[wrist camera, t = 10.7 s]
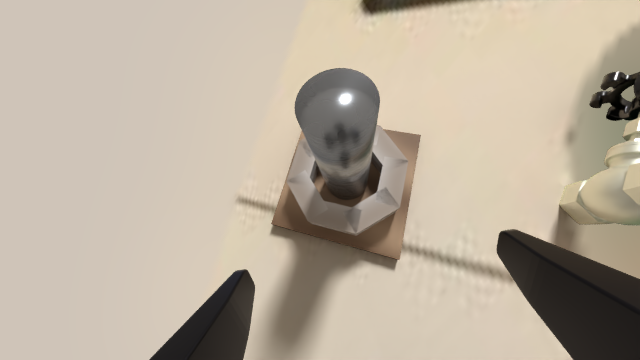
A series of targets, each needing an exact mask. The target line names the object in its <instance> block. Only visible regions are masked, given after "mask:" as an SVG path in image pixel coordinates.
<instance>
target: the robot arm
mask: <svg viewBox="0 0 640 360" xmlns="http://www.w3.org/2000/svg"><path fill="white" fill-rule="evenodd" d="M497 254H498V256H499V258H500V259H501V261H502V262H503V264H504V265H505V267H506V268H507V270H508V272H509V273H510V275H511V276H512V278H513V279H514V281H515V282H516V284H517V286H518V287H519V289H520V290H521V292H522V293H523V295H524V296H525V298H526V299H527V301H528V302H529V303H530V305H531V306H532V307H533V308H534V310H535V311H536V312H537V314H538V315H539V316H540V317H541V319H542V320H543V321H544V323H545V324H546V325H547V326H548V328H549V329H550V330H551V331H552V333H553V334H554V335H555V337H556V338H557V339H558V340H559V342H560V343H561V344H562V346H563V347H564V348H565V349H566V351H567V352H568V353H569V354H570V356H571V357H572V358H573V360H640V279H638V278H636V277H633V276H631V275H628V274H626V273H623V272H621V271H618V270H616V269H613V268H610V267H608V266H605V265H603V264H600V263H598V262H596V261H593V260H591V259H588V258H586V257H583V256H581V255H578V254H576V253H573V252H571V251H568V250H566V249H563V248H561V247H558V246H556V245H553V244H551V243H548V242H546V241H543V240H541V239H538V238H536V237H533V236H531V235H528V234H526V233H523V232H521V231H518V230H515V229H511V230H504V231H501V232H500V233H499V238H498V243H497ZM254 294H255V285H254V282H253V280H252V278H251V276H250V274H249V272H248V270H246V269H244V270H237V271H235V272H234V273H233V274H232V275H231V276H230V277H229V278H228V279H227V280H226V281H225V282H224V283H223V284H222V285H221V286H220V287H219V288H218V289H217V290H216V291H215V293H214V294H213V295H212V296H211V297H210V298H209V299H208V300H207V301H206V302H205V303H204V304H203V305H202V306H201V307H200V308H199V309H198V310H197V311H196V312H195V313H194V314H193V315H192V316H191V317H190V318H189V319H188V320H187V321H186V322H185V323H184V325H183V326H182V327H181V328H180V329H179V330H178V331H177V332H176V333H175V334H174V335H173V336H172V337H171V338H170V339H169V340H168V341H167V342H166V343H165V344H164V345H163V346H162V347H161V348H160V349H159V350H158V351H157V352H156V354H154V355H153V356H152V357H151V359H150V360H243V358H244V353H245V349H246V345H247V340H248V336H249V330H250V324H251V316H252V309H253V301H254Z"/></svg>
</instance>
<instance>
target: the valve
mask: <svg viewBox="0 0 640 360" xmlns="http://www.w3.org/2000/svg"><path fill="white" fill-rule="evenodd" d="M632 85H634V93H635V96H634V97H633V99H632V102H629V101H627V100H625V99H624V98H623V97H622V96H621V93H622V92H623V91H624V90H625V89H627V88H628V87H630V86H632ZM609 87H613V89H612V90H611V91H609V92H607V91H601V92H597V93H595V94H593V96H592V98H591V101H590V106H591V107H593V108H600V107H601V105H602V104H604V103H611V105H612V106H611V107H610V108H609V109H608V112H607V115H606V118H607V119H609V120H612V121H616V120H622V119H624V120H633V121H630V122H629V123H627V124H626V127H625V130H624V134H623V138H624V139H625V140H626V142H624V143H620V144H617V145H614V146H612V147H611V148H609V149H608V151H607V154H606V158H605V161H604V163H605V164H606V166H607V167H609V169H606V170H603V171H601V172H599V173H597V174H595V175H593V176H592V177H591V178H590V179H588V180H584V181H579V182H576V183H573V184H570V185H567V186H565V188H564V191H563V194H562V197H561V200H560V206H561V207H562V208H563V209H564V210H565V211H566V212H567V213H568V214H569V215H570V216H571V217H572V218H573V219H574V220H575V221H576V222H577V223H578V224H609V223H617V224H623V225H640V72H638V73H635V74H633V75H625V74H624V73H622V72H612V73H609V74H607V75H606V76H604V78H603V81H602V84H601V89H603V90H606V89H607V88H609Z"/></svg>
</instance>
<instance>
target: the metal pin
mask: <svg viewBox="0 0 640 360" xmlns="http://www.w3.org/2000/svg"><path fill="white" fill-rule="evenodd" d="M379 105H380V97H379V92H378V90H377V87H376V86H375V84H374V83H373V82H372V80H371V79H370V78H368V77H367V76H366V75H364V74H363V73H361V72H358V71H356V70H352V69H346V68H336V69H330V70H326V71H323V72H321V73H319V74H317V75H315V76H313V77H312V78H311V79H309V80H308V81H307V82H306V83H305V84H304V85H303V86H302V88H301V89H300V91H299V93H298V95H297V98H296V101H295V114H296V118H297V120H298V123H299V125H300V127H301V129H302V131H303V134H304V136H305V138H306V140H307V143H308V145H309V147H310V149H311V152H312V154H313V156H314V158H315V160H316V163H317V165H318V167H319V169H320V172H321V174H322V176H323V178H324V180H325V183H326V185H327V187H328V189H329V191H330V192H331V193H332V194H333V195H334V196H335V197H337V198H339V199H342V200H351V199H355V198H357V197H359V196H360V195H361V194H362V193H363V192H364V191H365V189H366V187H367V183H368V177H369V170H370V164H371V157H372V151H373V144H374V138H375V131H376V125H377V118H378V112H379Z"/></svg>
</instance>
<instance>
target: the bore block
mask: <svg viewBox="0 0 640 360" xmlns="http://www.w3.org/2000/svg"><path fill="white" fill-rule="evenodd" d="M420 136H421V135H416V134H410V133H404V132H397V131H391V130H384V129H382V127H381V126H378V125H376V131H375V138H374V144H373V151H372V157H371V164H370V170H369V177H368V183H367V187H366V189H365V191H364V192H363V193H362V194H361V195H360V196H359V197H357V198H355V199H351V200H342V199H339V198H337V197H335V196H334V195H333V194H332V193H331V192H330V191H329V189H328V187H327V185H326V183H325V180H324V178H323V176H322V174H321V172H320V169H319V167H318V165H317V163H316V160H315V158H314V156H313V154H312V152H311V149H310V147H309V145H308V143H307V140H306V138H305V136H304V134H303V131H302V132H301V135H300V138H299V141H298V144H297V147H296V150H295V153H294V156H293V159H292V162H291V165H290V168H289V171H288V174H287V177H286V181H285V184H284V187H283V190H282V193H281V196H280V199H279V202H278V205H277V208H276V211H275V214H274V217H273V220H272V223H271V224H273V225H277V226H280V227H284V228H287V229H291V230H294V231H298V232H302V233H305V234H309V235H312V236H316V237H319V238H323V239H327V240H330V241H334V242H337V243H341V244H344V245H348V246H352V247H355V248H359V249H362V250H366V251H369V252H373V253H377V254H380V255H384V256H387V257H391V258H394V259H398V260H399V259H400V254H401V248H402V242H403V236H404V230H405V224H406V218H407V212H408V207H409V201H410V195H411V189H412V183H413V177H414V171H415V165H416V160H417V154H418V148H419V142H420Z"/></svg>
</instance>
